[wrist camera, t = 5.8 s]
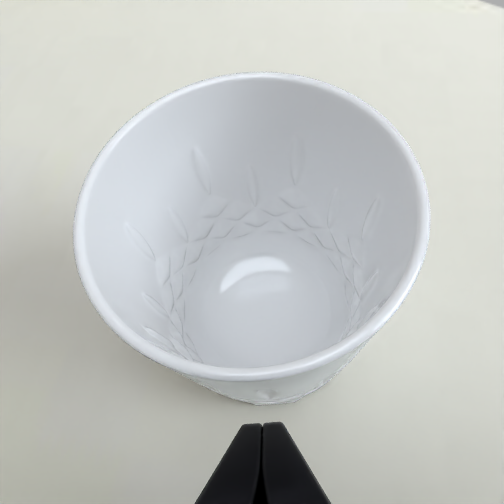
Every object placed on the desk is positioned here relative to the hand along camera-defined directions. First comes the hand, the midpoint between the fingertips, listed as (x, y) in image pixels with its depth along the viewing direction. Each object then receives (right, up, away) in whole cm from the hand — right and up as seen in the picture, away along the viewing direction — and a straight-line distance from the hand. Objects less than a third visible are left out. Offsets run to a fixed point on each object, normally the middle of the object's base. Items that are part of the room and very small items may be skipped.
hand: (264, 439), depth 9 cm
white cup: (0, +1, +10) cm, 10 cm away
